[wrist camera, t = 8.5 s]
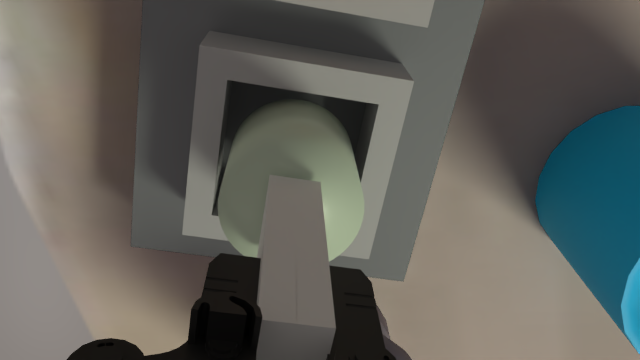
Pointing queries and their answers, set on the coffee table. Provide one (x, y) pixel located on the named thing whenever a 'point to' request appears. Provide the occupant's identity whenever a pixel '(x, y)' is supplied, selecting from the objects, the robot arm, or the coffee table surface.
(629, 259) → the mug
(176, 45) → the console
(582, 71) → the coffee table surface
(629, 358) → the coffee table surface
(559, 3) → the coffee table surface
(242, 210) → the sage button
